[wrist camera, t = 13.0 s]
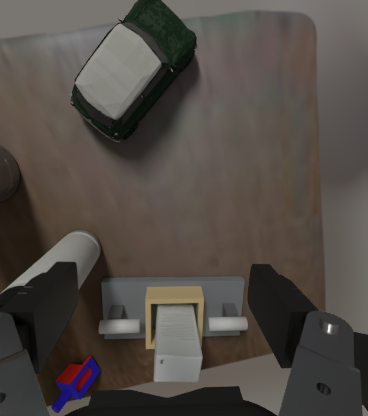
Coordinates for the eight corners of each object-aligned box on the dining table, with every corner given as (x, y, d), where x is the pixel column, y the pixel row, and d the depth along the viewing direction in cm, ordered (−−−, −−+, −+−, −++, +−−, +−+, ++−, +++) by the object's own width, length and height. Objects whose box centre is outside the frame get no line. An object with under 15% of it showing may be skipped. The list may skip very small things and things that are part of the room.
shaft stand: (106, 333, 45) (97, 361, 39) (103, 277, 42) (93, 299, 36) (237, 329, 47) (247, 356, 41) (242, 276, 44) (253, 296, 38)
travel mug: (106, 263, 42) (53, 363, 22) (65, 266, 41) (-23, 370, 22) (101, 228, 40) (40, 302, 21) (59, 230, 40) (-42, 309, 21)
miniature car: (200, 50, 35) (210, 23, 28) (120, 148, 38) (109, 148, 30) (152, -1, 34) (147, -45, 26) (71, 105, 36) (45, 93, 28)
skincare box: (155, 319, 43) (151, 382, 32) (158, 297, 42) (154, 354, 31) (190, 321, 44) (199, 384, 32) (193, 299, 43) (203, 356, 31)
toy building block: (76, 355, 48) (41, 398, 41) (91, 356, 46) (56, 401, 39) (85, 369, 48) (52, 413, 42) (100, 370, 46) (67, 417, 40)
